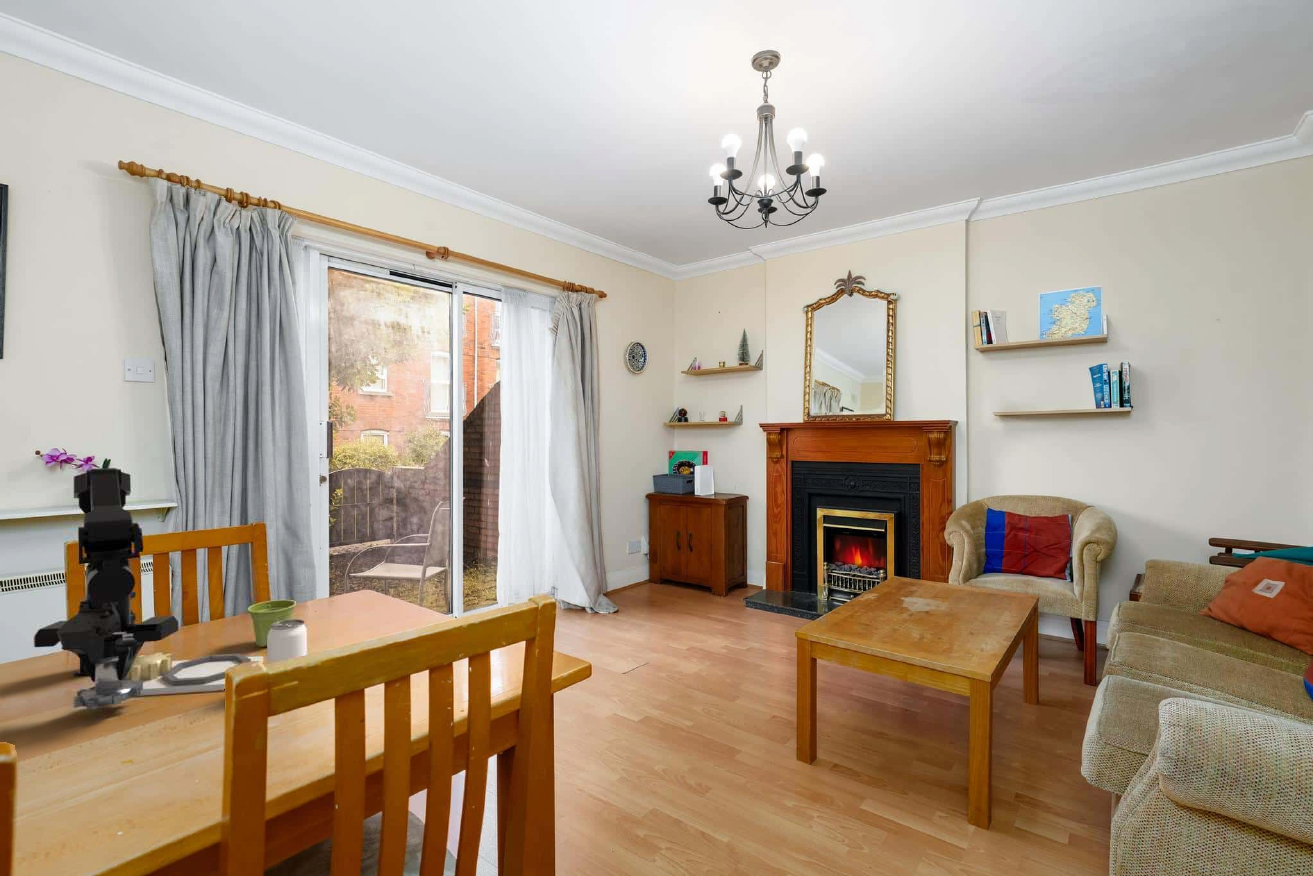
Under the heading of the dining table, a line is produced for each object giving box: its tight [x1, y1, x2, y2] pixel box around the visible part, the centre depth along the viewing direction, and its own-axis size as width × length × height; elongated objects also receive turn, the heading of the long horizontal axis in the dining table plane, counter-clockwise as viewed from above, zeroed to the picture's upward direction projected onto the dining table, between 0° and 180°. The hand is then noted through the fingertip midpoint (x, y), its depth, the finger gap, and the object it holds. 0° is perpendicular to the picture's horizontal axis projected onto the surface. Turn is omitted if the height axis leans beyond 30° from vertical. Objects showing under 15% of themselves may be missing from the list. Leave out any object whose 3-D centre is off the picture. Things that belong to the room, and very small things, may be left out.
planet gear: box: [72, 656, 143, 710], centre depth 105 cm, size 9×9×6 cm
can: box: [266, 618, 308, 664], centre depth 116 cm, size 6×6×12 cm
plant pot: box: [247, 599, 297, 648], centre depth 139 cm, size 9×9×9 cm
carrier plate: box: [125, 652, 264, 697], centre depth 119 cm, size 22×14×4 cm, turn 101°
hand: (109, 680), depth 105 cm, fingers closed on planet gear, 4 cm apart
